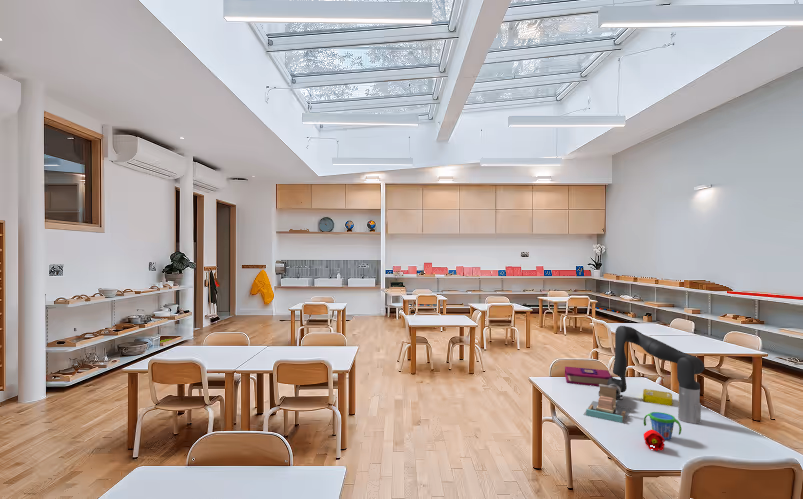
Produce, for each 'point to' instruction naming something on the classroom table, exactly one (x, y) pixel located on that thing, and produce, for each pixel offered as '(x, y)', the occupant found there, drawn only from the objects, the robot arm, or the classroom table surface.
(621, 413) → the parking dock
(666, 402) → the element tile
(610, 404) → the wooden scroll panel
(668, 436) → the snack cup
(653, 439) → the flower
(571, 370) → the book
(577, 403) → the classroom table surface
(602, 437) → the classroom table surface
